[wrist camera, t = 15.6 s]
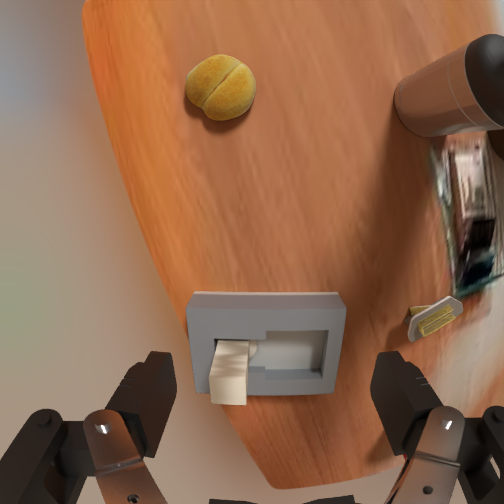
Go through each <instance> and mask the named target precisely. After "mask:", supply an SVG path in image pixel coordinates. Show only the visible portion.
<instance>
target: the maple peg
mask: <svg viewBox="0 0 504 504" xmlns="http://www.w3.org/2000/svg"><path fill="white" fill-rule="evenodd" d="M256 349H257V340H253V339H216V351H215V355H214V359H213V363H212V367H211V371H210V375H209V385H210V394H211V403H212V404H229V405H246V400H247V387H248V374H249V361H250V359H251V358H252V357H253V356H254V354H255V352H256Z"/></svg>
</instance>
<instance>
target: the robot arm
mask: <svg viewBox="0 0 504 504" xmlns="http://www.w3.org/2000/svg"><path fill="white" fill-rule="evenodd" d="M394 102H395V108H396V111H397V114H398V116H399V118H400V120H401V121H402V123H403V124H404V125H405V126H406V127H407V128H408V129H409V130H410V131H411V132H413V133H414V134H416V135H419V136H421V137H435V136H444V135H451V134H460V133H468V132H478V131H488V130H498V129H504V37H503V36H500V35H497V34H488V35H484V36H482V37H480V38H478V39H476V40H474V41H472V42H470V43H468V44H466V45H464V46H462V47H460V48H458V49H457V50H455V51H453V52H451V53H449V54H447V55H446V56H444V57H442V58H440V59H438V60H436V61H435V62H433V63H431V64H429V65H427V66H426V67H424V68H422V69H420V70H419V71H417V72H415V73H413V74H412V75H410V76H408V77H407V78H405V79H403V80H402V81H401V82H400V83H399V84H398V86H397V88H396V91H395V95H394ZM370 392H371V397H372V400H373V402H374V405H375V407H376V409H377V412H378V414H379V417H380V419H381V422H382V424H383V427H384V429H385V432H386V434H387V437H388V439H389V442H390V444H391V447H392V450H393V452H394V455H395V456H397V455H402V454H406V456H407V460H406V461H405V463H404V466H403V468H402V470H401V472H400V474H399V476H398V478H397V480H396V482H395V484H394V486H393V488H392V490H391V492H390V494H389V496H388V498H387V499H386V501H385V503H384V504H449V502H450V498H451V496H452V493H453V489H454V486H455V482H456V479H457V478H458V480H459V483H460V485H461V487H462V490H463V493H464V495H465V498H466V500H467V503H468V504H504V407H502V406H491V407H489V408H487V409H486V411H485V412H484V414H483V416H482V418H464V416H463V414H462V413H461V412H460V411H459V410H457V409H455V408H453V407H450V406H444V405H443V404H442V402H441V401H440V399H439V398H438V396H437V395H436V393H435V392H434V390H433V389H432V387H431V386H430V384H428V381H427V380H426V378H424V375H423V374H422V372H421V371H420V369H419V368H418V367H416V366H415V365H414V364H412V363H411V362H405V360H404V359H403V357H402V356H401V354H400V353H399V352H398V351H390V352H380V353H379V354H378V356H377V360H376V364H375V368H374V372H373V376H372V380H371V386H370ZM176 393H177V384H176V378H175V372H174V366H173V360H172V355H171V353H168V352H157V351H151V352H150V354H149V355H148V357H147V359H146V361H145V362H144V363H142V362H138V363H136V364H135V365H134V366H132V367H131V368H130V369H129V370H128V371H127V373H126V375H125V376H124V379H122V381H121V383H120V386H118V388H117V389H116V391H115V392H114V394H113V396H112V397H111V399H110V401H109V402H108V404H107V406H106V407H105V409H101V410H97V411H94V412H92V413H91V414H89V415H88V416H87V417H86V418H85V420H84V421H63V420H62V417H61V416H60V414H59V413H58V412H57V411H55V410H52V409H41V410H38V411H36V412H34V413H33V414H32V415H31V416H30V417H29V418H28V420H27V421H26V423H25V424H24V426H23V427H22V428H21V430H20V431H19V433H18V434H17V436H16V437H15V439H14V440H13V442H12V443H11V445H10V446H9V448H8V449H7V451H6V452H5V454H4V455H3V457H2V458H1V460H0V504H76V502H77V500H78V498H79V495H80V493H81V490H82V488H83V485H84V483H85V480H86V478H87V476H95V477H96V480H97V483H98V485H99V488H100V490H101V493H102V496H103V498H104V501H105V503H106V504H168V503H167V501H166V500H165V498H164V496H163V495H162V493H161V492H160V490H159V488H158V486H157V484H156V483H155V481H154V479H153V477H152V476H151V474H150V472H149V470H148V468H147V466H146V465H145V463H144V461H143V458H144V456H145V457H150V458H154V457H155V454H156V451H157V449H158V446H159V443H160V440H161V437H162V434H163V432H164V429H165V426H166V423H167V420H168V417H169V414H170V412H171V409H172V406H173V404H174V401H175V398H176ZM492 457H493V458H494V460H495V462H496V464H497V466H498V468H499V470H500V479H499V478H498V476H497V474H496V472H495V470H494V468H493V466H492V464H491V462H490V460H491V458H492ZM209 504H256V503H252V502H247V501H233V500H219V499H210V500H209ZM304 504H360V503H355V501H354V497H353V495H348V496H341V497H334V498H324V499H318V500H314V501H311V502H307V503H304Z"/></svg>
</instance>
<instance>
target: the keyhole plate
mask: <svg viewBox="0 0 504 504" xmlns="http://www.w3.org/2000/svg"><path fill="white" fill-rule="evenodd" d="M346 311H347V308H346V306H345V304H344V303H343V301H342V299H341V297H340V296H339V294H338V292H209V291H195V292H194V293H193V295H192V297H191V299H190V301H189V303H188V305H187V306H186V315H187V325H188V334H189V343H190V351H191V360H192V367H193V375H194V382H195V390H196V393H210V385H209V375H210V371H211V367H212V363H213V359H214V355H215V351H216V339H253V340H257V349H256V352H255V354H254V356H253V357H252V358H251V359H250V361H249V374H248V387H247V395H311V394H329V393H334V388H335V382H336V377H337V371H338V365H339V359H340V353H341V347H342V340H343V333H344V326H345V319H346Z"/></svg>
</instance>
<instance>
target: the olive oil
mask: <svg viewBox="0 0 504 504" xmlns="http://www.w3.org/2000/svg"><path fill="white" fill-rule="evenodd" d="M488 133H489V138H490V141H491V144H492V146H493V148H494V150H495V152H496V153H497V155H498V156H499V157H500V158H502V159H503V160H504V129H498V130H488Z"/></svg>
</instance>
